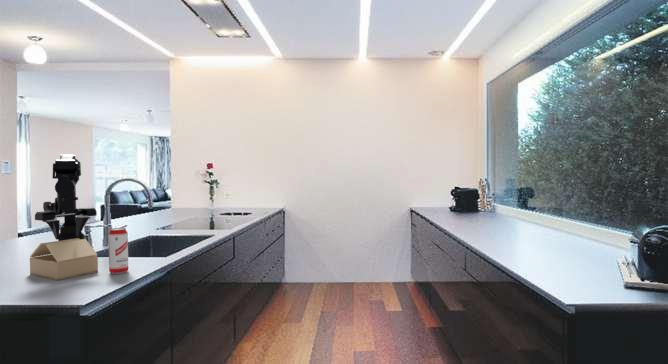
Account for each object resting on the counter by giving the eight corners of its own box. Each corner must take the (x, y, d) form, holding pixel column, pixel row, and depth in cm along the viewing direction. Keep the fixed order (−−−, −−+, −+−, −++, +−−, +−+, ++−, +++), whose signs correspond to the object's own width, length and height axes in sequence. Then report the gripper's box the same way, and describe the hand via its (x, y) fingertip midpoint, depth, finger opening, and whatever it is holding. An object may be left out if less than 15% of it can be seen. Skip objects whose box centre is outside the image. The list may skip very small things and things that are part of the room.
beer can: (132, 271, 159) (131, 228, 159) (117, 275, 153) (116, 230, 153) (120, 269, 162) (119, 227, 161) (105, 273, 156) (104, 229, 156)
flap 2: (84, 240, 162) (85, 238, 162) (96, 255, 159) (97, 254, 158) (45, 245, 150) (46, 244, 150) (57, 262, 147) (58, 261, 147)
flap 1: (69, 251, 168) (68, 249, 168) (79, 239, 164) (79, 238, 164) (30, 257, 156) (29, 256, 156) (40, 244, 152) (40, 243, 152)
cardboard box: (70, 266, 168) (69, 251, 168) (97, 271, 159) (97, 255, 159) (30, 274, 156) (29, 257, 156) (57, 280, 147) (57, 262, 147)
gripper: (79, 192, 167) (81, 233, 168) (26, 195, 151) (27, 240, 151) (97, 193, 162) (98, 235, 162) (42, 196, 145) (44, 242, 146)
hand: (67, 238), depth 155 cm, fingers open, 7 cm apart
